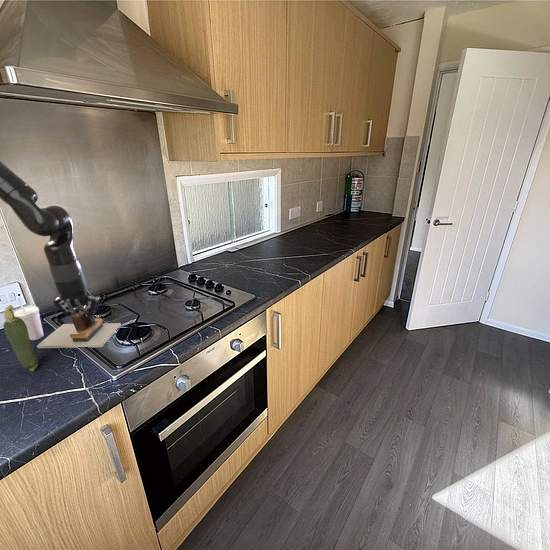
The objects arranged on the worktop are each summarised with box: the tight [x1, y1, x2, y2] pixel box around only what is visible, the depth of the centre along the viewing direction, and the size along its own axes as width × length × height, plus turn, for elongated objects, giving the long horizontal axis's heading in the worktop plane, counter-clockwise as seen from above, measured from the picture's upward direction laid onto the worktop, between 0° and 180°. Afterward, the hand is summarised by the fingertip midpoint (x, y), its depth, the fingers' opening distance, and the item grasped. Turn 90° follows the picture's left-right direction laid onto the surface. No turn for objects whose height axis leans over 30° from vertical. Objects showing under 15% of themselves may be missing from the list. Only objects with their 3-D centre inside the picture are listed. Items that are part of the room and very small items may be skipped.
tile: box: [36, 322, 122, 349], centre depth 94 cm, size 20×12×1 cm, turn 89°
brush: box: [69, 310, 104, 342], centre depth 93 cm, size 9×5×8 cm, turn 179°
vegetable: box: [3, 304, 39, 372], centre depth 77 cm, size 4×4×20 cm
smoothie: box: [13, 298, 45, 341], centre depth 92 cm, size 6×6×14 cm
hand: (85, 325), depth 93 cm, fingers closed on brush, 2 cm apart
